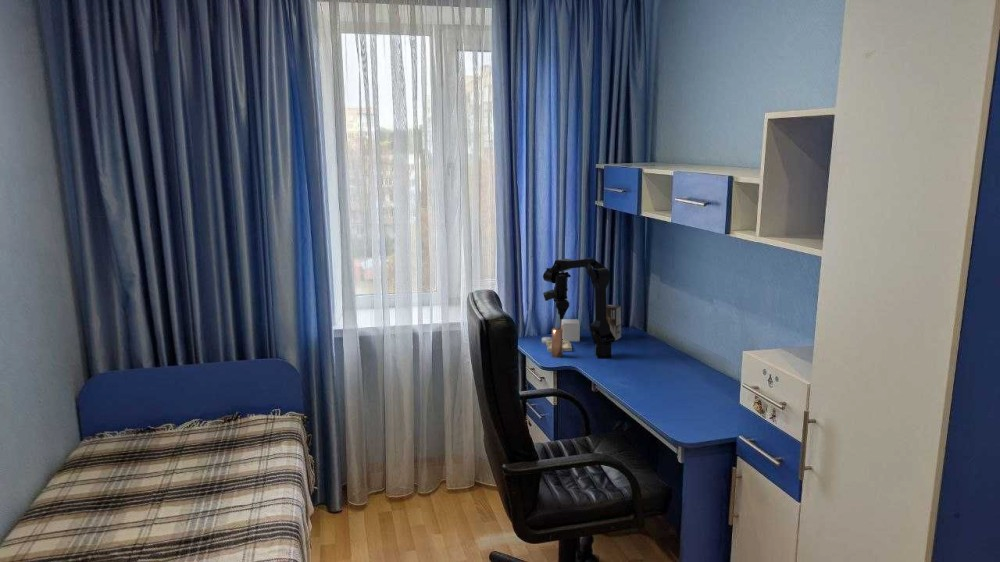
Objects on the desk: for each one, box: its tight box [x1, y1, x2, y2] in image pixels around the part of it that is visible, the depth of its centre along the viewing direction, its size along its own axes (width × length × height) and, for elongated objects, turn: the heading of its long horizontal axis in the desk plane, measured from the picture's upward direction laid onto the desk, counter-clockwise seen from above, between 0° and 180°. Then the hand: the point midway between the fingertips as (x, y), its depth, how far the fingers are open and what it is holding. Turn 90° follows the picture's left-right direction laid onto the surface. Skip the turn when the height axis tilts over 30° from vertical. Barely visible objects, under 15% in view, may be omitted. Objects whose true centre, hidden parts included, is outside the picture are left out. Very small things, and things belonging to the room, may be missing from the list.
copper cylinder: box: [551, 327, 563, 358], centre depth 305 cm, size 5×5×12 cm
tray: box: [545, 340, 573, 353], centre depth 317 cm, size 11×11×2 cm
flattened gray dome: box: [541, 336, 552, 345], centre depth 326 cm, size 5×5×2 cm
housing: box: [560, 318, 581, 342], centre depth 331 cm, size 8×8×9 cm
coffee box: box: [606, 303, 622, 341], centre depth 333 cm, size 9×6×16 cm
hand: (560, 316), depth 325 cm, fingers open, 9 cm apart
